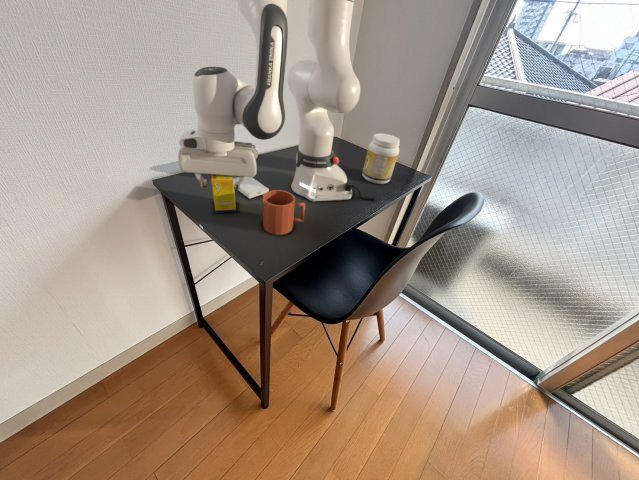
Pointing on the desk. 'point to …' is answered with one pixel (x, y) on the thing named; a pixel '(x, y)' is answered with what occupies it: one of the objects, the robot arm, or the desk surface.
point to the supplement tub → (381, 158)
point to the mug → (280, 212)
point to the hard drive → (251, 187)
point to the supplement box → (223, 193)
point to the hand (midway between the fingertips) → (221, 187)
